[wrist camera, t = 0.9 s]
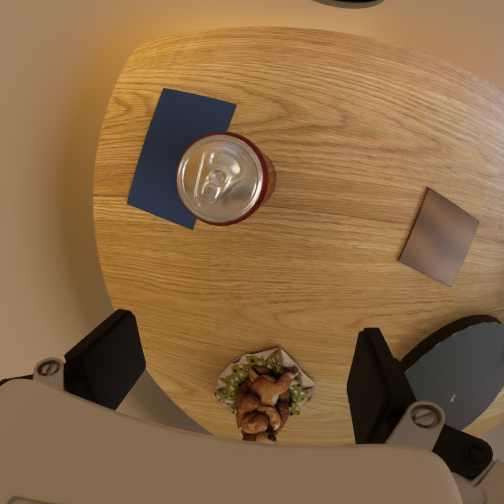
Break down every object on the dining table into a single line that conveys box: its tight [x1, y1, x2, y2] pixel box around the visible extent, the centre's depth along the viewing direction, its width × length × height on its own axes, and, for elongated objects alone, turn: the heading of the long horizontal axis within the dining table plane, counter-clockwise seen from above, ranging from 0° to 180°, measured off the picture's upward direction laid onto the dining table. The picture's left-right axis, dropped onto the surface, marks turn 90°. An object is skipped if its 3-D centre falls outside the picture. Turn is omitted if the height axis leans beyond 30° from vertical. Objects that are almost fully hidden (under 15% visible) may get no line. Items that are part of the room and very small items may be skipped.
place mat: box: [127, 88, 237, 230], centre depth 31 cm, size 16×10×1 cm, turn 160°
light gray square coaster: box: [398, 188, 479, 287], centre depth 29 cm, size 10×10×1 cm
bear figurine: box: [215, 347, 314, 443], centre depth 33 cm, size 14×15×12 cm
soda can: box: [176, 132, 276, 226], centre depth 25 cm, size 7×7×12 cm
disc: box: [400, 315, 504, 431], centre depth 33 cm, size 30×30×3 cm
